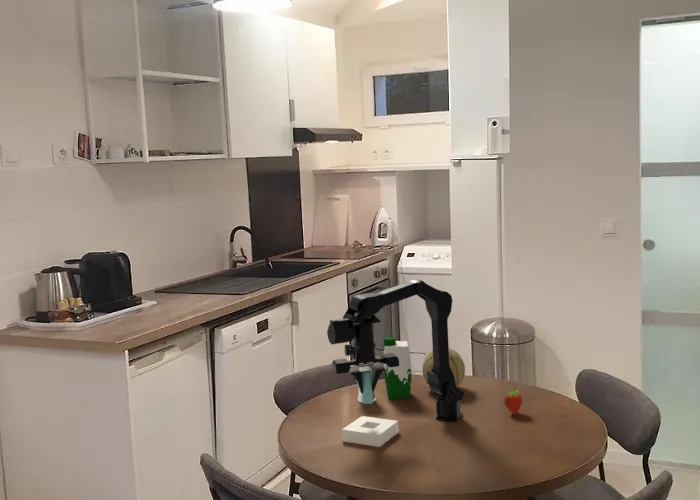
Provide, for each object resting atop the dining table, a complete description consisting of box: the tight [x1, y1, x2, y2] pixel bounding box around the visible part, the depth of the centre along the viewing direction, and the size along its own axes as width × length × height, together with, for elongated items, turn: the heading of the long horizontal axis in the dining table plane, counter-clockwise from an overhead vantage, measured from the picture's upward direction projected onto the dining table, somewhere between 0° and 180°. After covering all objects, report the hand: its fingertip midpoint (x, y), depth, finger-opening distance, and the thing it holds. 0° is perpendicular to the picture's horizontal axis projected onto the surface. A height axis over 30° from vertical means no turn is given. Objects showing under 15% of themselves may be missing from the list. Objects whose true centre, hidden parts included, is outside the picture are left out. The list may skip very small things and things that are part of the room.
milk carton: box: [382, 336, 412, 400], centre depth 250 cm, size 9×9×20 cm
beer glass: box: [357, 362, 377, 404], centre depth 247 cm, size 7×7×15 cm
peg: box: [361, 371, 374, 405], centre depth 214 cm, size 3×3×9 cm
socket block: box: [341, 415, 400, 448], centre depth 215 cm, size 12×12×4 cm
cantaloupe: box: [422, 347, 466, 388], centre depth 254 cm, size 15×15×15 cm
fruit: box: [503, 389, 523, 415], centre depth 227 cm, size 5×5×8 cm
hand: (367, 392), depth 214 cm, fingers closed on peg, 3 cm apart
